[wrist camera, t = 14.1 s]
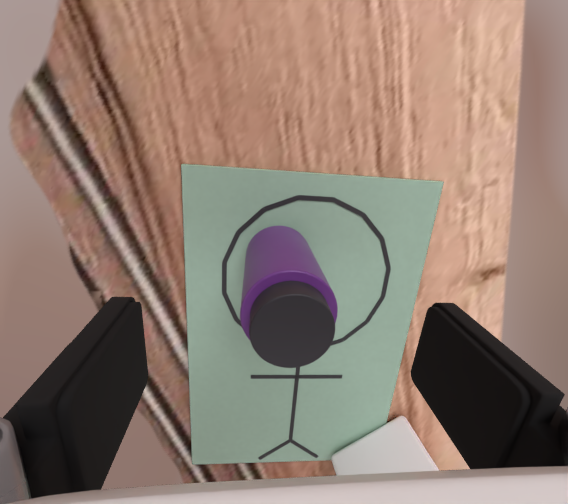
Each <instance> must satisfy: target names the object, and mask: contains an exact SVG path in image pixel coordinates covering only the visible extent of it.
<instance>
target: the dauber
mask: <svg viewBox="0 0 568 504" xmlns="http://www.w3.org/2000/svg"><path fill="white" fill-rule="evenodd" d="M337 313H338V307H337V301H336V298H335V295H334V293H333V291H332V289H331V287H330V285H329V283H328V281H327V279H326V277H325V275H324V274H323V272H322V270H321V268H320V266H319V264H318V262H317V260H316V258H315V256H314V254H313V252H312V250H311V249H310V247H309V245H308V243H307V241H306V239H305V238H304V237H303V236H302V235H301V234H300V233H299V232H298V231H296V230H295V229H293V228H290V227H287V226H271V227H267V228H265V229H263V230H261V231H259V232H258V233H257V234H256V235H255V236H254V237H253V238H252V239H251V241H250V242H249V244H248V247H247V250H246V258H245V268H244V278H243V288H242V298H241V308H240V321H241V325H242V328H243V331H244V333H245V334H246V336H247V337H248V339H249V340H250V341H251V344H252V347H253V348H254V350H255V352H256V353H257V354H258V355H259V356H260V357H261V358H262V359H263V360H265V361H266V362H268V363H270V364H272V365H275V366H278V367H283V368H296V367H302V366H305V365H308V364H310V363H312V362H314V361H316V360H317V359H319V358H320V357H321V356H323V355H324V354H325V352H326V351H327V350H328V349H329V347H330V346H331V344H332V341H333V339H334V335H335V323H336V319H337Z"/></svg>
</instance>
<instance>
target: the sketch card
mask: <svg viewBox="0 0 568 504" xmlns="http://www.w3.org/2000/svg"><path fill="white" fill-rule="evenodd" d="M181 174H182V201H183V228H184V255H185V283H186V310H187V337H188V364H189V391H190V419H191V446H192V464H225V463H257V462H289V461H321V460H331V457H332V455H333V454H335V453H337V452H338V451H340V450H342V449H343V448H345V447H347V446H349V445H350V444H352V443H354V442H355V441H357V440H359V439H361V438H362V437H364V436H366V435H368V434H369V433H371V432H373V431H374V430H376V429H378V428H380V427H381V426H383V425H385V424H386V423H387V418H388V414H389V410H390V406H391V402H392V397H393V393H394V389H395V385H396V381H397V376H398V372H399V368H400V364H401V360H402V355H403V351H404V347H405V343H406V338H407V334H408V330H409V326H410V322H411V317H412V313H413V309H414V305H415V301H416V296H417V292H418V288H419V284H420V280H421V275H422V271H423V267H424V263H425V259H426V254H427V250H428V246H429V242H430V238H431V233H432V229H433V225H434V221H435V217H436V212H437V208H438V204H439V200H440V195H441V191H442V187H443V183H444V182H442V181H430V180H416V179H401V178H386V177H371V176H357V175H342V174H327V173H313V172H298V171H283V170H268V169H254V168H239V167H224V166H210V165H195V164H181ZM271 226H287V227H290V228H293V229H295V230H296V231H298V232H299V233H300V234H301V235H302V236H303V237H304V238H305V239H306V241H307V243H308V245H309V247H310V249H311V250H312V252H313V254H314V256H315V258H316V260H317V262H318V264H319V266H320V268H321V270H322V272H323V274H324V275H325V277H326V279H327V281H328V283H329V285H330V287H331V289H332V291H333V293H334V295H335V298H336V301H337V307H338V313H337V319H336V323H335V335H334V339H333V341H332V344H331V346H330V347H329V349H328V350H327V351H326V352H325V354H324V355H323V356H321V357H320V358H319V359H317V360H316V361H314V362H312V363H310V364H308V365H305V366H302V367H296V368H283V367H278V366H275V365H272V364H270V363H268V362H266V361H265V360H263V359H262V358H261V357H260V356H259V355H258V354H257V353H256V352H255V350H254V348H253V347H252V344H251V341H250V340H249V339H248V337H247V336H246V334H245V333H244V331H243V328H242V325H241V321H240V308H241V298H242V288H243V278H244V268H245V258H246V250H247V247H248V244H249V242H250V241H251V239H252V238H253V237H254V236H255V235H256V234H257V233H258V232H259V231H261V230H263V229H265V228H267V227H271Z"/></svg>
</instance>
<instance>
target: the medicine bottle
mask: <svg viewBox="0 0 568 504" xmlns="http://www.w3.org/2000/svg"><path fill="white" fill-rule="evenodd" d="M331 460H332V463H333V466H334V469H335V472H336V476H337V475H357V474H378V473H399V472H420V471H439V469H438V468H437V466H436V465H435V463H434V461H433V460H432V458H431V457H430V455H429V454H428V452H427V450H426V449H425V447H424V446H423V444H422V442H421V441H420V439H419V438H418V436H417V435H416V433H415V431H414V430H413V428H412V427H411V425H410V424H409V422H408V420H407V419H406V418H405V417H404V416H399V417H397V418H395V419H393V420H392V421H390V422H388V423H386V424H385V425H383V426H381V427H380V428H378V429H376V430H374V431H373V432H371V433H369V434H368V435H366V436H364V437H362V438H361V439H359V440H357V441H355V442H354V443H352V444H350V445H349V446H347V447H345V448H343V449H342V450H340V451H338V452H337V453H335V454H333V455H332V457H331Z"/></svg>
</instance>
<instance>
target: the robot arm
mask: <svg viewBox="0 0 568 504" xmlns="http://www.w3.org/2000/svg"><path fill="white" fill-rule="evenodd" d="M411 377H412V380H413V382H414V384H415V385H416V387H417V388H418V390H419V391H420V393H421V394H422V396H423V398H424V399H425V401H426V402H427V404H428V405H429V407H430V408H431V410H432V411H433V413H434V414H435V416H436V417H437V419H438V420H439V422H440V423H441V425H442V426H443V428H444V430H445V431H446V433H447V434H448V436H449V437H450V439H451V440H452V442H453V443H454V445H455V446H456V448H457V449H458V451H459V452H460V454H461V455H462V457H463V458H464V460H465V462H466V463H467V465H468V466H469V468H470V469H466V470H443V471H420V472H399V473H378V474H357V475H337V476H317V477H297V478H279V479H260V480H242V481H224V482H206V483H188V484H171V485H158V486H144V487H132V488H117V489H103V490H101V488H102V486H103V483H104V481H105V479H106V476H107V474H108V472H109V469H110V467H111V465H112V462H113V460H114V458H115V455H116V453H117V451H118V449H119V446H120V444H121V442H122V439H123V437H124V435H125V433H126V430H127V428H128V426H129V423H130V421H131V419H132V416H133V414H134V412H135V409H136V407H137V405H138V403H139V400H140V398H141V396H142V393H143V391H144V389H145V386H146V384H147V379H148V368H147V358H146V348H145V338H144V328H143V318H142V308H141V304H140V302H135V299H134V298H133V297H112V298H110V299H109V301H108V302H107V303H106V304H105V305H104V306H103V307H102V308H101V310H100V311H99V312H98V313H97V314H96V315H95V316H94V318H93V319H92V320H91V321H90V322H89V323H88V324H87V325H86V326H85V328H84V329H83V330H82V331H81V332H80V333H79V335H77V337H76V338H75V339H74V340H73V341H72V342H71V343H70V344H69V345H68V346H67V347H66V348H65V349H64V350H63V351H62V352H61V354H60V355H59V356H58V357H57V358H56V359H55V360H54V361H53V362H52V364H51V365H50V366H49V367H48V368H47V369H46V370H45V371H44V372H43V374H42V375H41V376H40V377H39V378H38V379H37V380H36V381H35V382H34V384H33V385H32V386H31V387H30V388H29V389H28V390H27V391H26V393H25V394H24V395H23V396H22V397H21V398H20V399H19V400H18V402H17V403H16V404H15V405H14V406H13V407H12V408H11V409H10V410H9V412H8V413H7V414H6V415H5V416H4V417H3V418H0V504H568V408H567V410H566V411H565V410H564V409H563V408H562V407H561V406H559V405H560V403H561V401H562V399H563V397H564V393H562V392H561V391H560V390H559V389H558V388H556V387H555V386H554V385H553V384H551V383H550V382H549V381H548V380H547V379H545V378H544V377H543V376H542V375H540V374H539V373H538V372H537V371H536V370H534V369H533V368H532V367H531V366H529V365H528V364H527V363H526V362H525V361H523V360H522V359H521V358H520V357H519V356H517V355H516V354H515V353H514V352H513V351H511V350H510V349H509V348H508V347H506V346H505V345H504V344H503V343H502V342H500V341H499V340H498V339H497V338H496V337H494V336H493V335H492V334H491V333H489V332H488V331H487V330H486V329H485V328H483V327H482V326H481V325H480V324H479V323H477V322H476V321H475V320H474V319H472V318H471V317H470V316H469V315H468V314H466V313H465V312H464V311H463V310H462V309H460V308H459V307H458V306H457V305H455V304H454V303H435V304H433V305H432V307H430V308H429V309H428V310H427V313H426V317H425V321H424V324H423V328H422V332H421V336H420V339H419V343H418V347H417V350H416V354H415V358H414V362H413V365H412V369H411Z"/></svg>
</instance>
